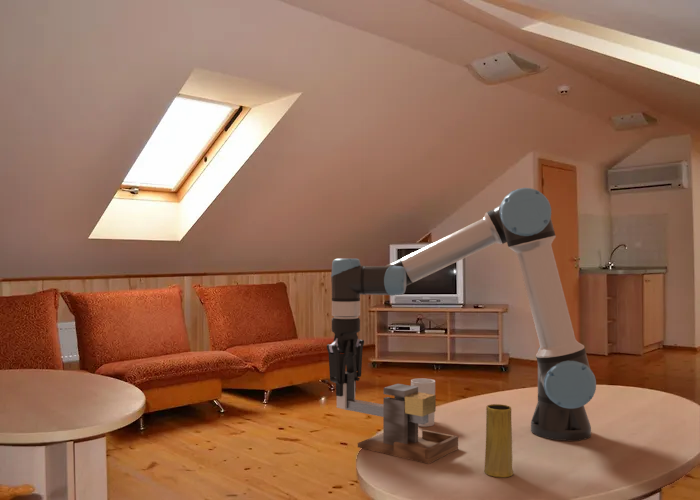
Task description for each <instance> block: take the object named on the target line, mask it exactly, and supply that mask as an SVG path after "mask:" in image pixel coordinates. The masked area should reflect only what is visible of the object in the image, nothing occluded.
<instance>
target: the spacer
mask: <svg viewBox="0 0 700 500" xmlns="http://www.w3.org/2000/svg"><path fill="white" fill-rule="evenodd" d="M436 400H437V399H436V394H435V395H433V394H427V393H421V392H416V393H413V394H410V395H407V396H405V413H407V414H412V415H417V416H425V415H428V414H430V413H433V412H436V411H437V410H436V409H437V408H436V406H437V405H436V403H437V402H436Z"/></svg>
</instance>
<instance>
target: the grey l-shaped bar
mask: <svg viewBox="0 0 700 500" xmlns="http://www.w3.org/2000/svg"><path fill="white" fill-rule="evenodd" d="M344 383H346V384H347V409H344V410H345V411H351V412H356V413H362V414H367V415H371V416H377V417H380V418H381V417H382V418H383V403H377V402H372V401H366V400H361V399H356V398H355V399H354V372H349V371H347V370H345V381H344ZM408 422H413V423H418V424H426V423H428V415H425V416H417V415H412V414H408Z"/></svg>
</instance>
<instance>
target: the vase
mask: <svg viewBox="0 0 700 500" xmlns="http://www.w3.org/2000/svg"><path fill="white" fill-rule="evenodd" d="M485 410H486V412H485V414H486V417H485V418H486V427H485V428H486V429H485V430H486V431H485V433H486V434H485V454H484V455H485V457H484V474H486V475H487V476H489V477H493V478H499V479H500V478H501V479H503V478H504V479H505V478H509V477H512V476H513V475H514V471H513V436H512V435H513V433H512V432H513V431H512V430H513V428H512V407H511V406H510V405H507V404H499V403H498V404H497V403H494V404H488V405H486V409H485Z"/></svg>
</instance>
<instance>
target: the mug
mask: <svg viewBox="0 0 700 500" xmlns="http://www.w3.org/2000/svg"><path fill="white" fill-rule="evenodd" d="M410 386H416V387H418V392H421V393H427V394H433V395H436V380H435V379H432V378H412V379H410ZM435 412H436V411H435ZM435 412H433V413H430V414H428V423H426V424H418V427H420V428H421V427H423V428H424V427H432V426H434V425H435V414H436V413H435Z"/></svg>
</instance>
